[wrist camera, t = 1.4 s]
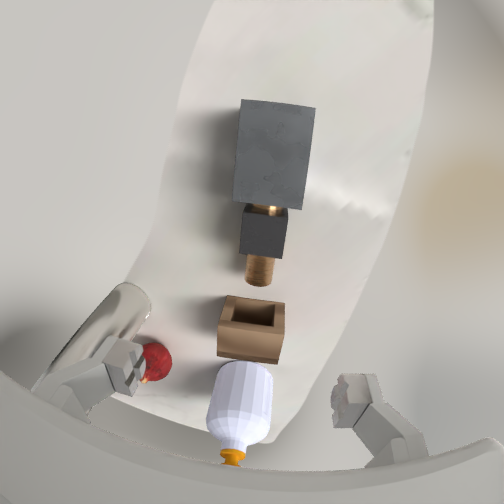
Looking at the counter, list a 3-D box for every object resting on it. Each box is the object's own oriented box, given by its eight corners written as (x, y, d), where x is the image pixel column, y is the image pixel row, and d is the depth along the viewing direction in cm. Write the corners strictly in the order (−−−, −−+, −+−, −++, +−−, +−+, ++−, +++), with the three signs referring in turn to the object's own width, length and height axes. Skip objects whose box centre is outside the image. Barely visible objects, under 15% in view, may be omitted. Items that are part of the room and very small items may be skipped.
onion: (149, 326, 39) (128, 362, 32) (182, 343, 40) (166, 381, 33) (142, 347, 42) (123, 381, 34) (172, 363, 42) (157, 399, 35)
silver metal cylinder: (131, 323, 39) (52, 451, 17) (106, 290, 37) (8, 412, 15) (159, 312, 38) (77, 461, 15) (133, 276, 36) (23, 416, 13)
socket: (227, 295, 35) (217, 325, 29) (284, 303, 35) (284, 334, 29) (225, 324, 37) (216, 356, 32) (278, 332, 37) (277, 364, 31)
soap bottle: (277, 363, 40) (265, 518, 17) (268, 396, 43) (255, 525, 21) (218, 354, 40) (178, 504, 18) (217, 388, 44) (187, 515, 22)
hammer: (257, 119, 26) (252, 115, 21) (297, 123, 25) (301, 121, 20) (242, 268, 33) (235, 293, 28) (276, 272, 32) (275, 298, 28)
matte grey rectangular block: (249, 106, 26) (241, 99, 20) (307, 113, 25) (315, 108, 19) (241, 187, 29) (231, 201, 23) (297, 194, 29) (301, 210, 23)
